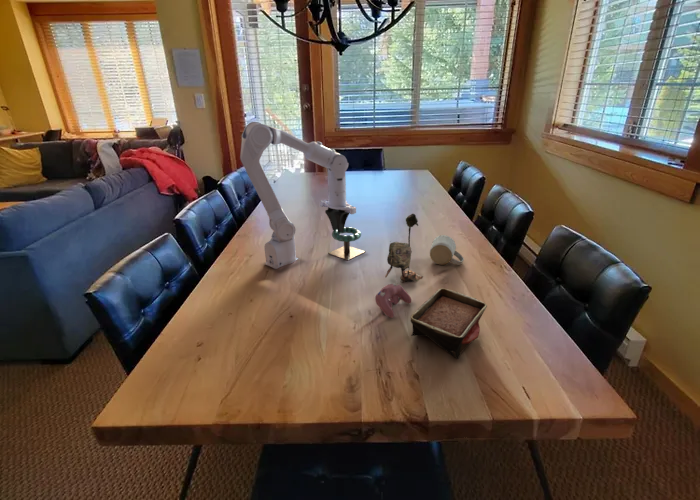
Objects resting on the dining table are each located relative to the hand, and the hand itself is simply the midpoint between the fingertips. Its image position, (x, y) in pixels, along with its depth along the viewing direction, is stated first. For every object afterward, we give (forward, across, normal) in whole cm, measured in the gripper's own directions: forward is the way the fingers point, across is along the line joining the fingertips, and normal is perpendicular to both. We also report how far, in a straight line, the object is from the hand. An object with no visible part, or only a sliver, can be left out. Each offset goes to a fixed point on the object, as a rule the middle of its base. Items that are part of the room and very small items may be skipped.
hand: (338, 230), depth 126 cm
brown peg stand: (+8, -4, 0) cm, 9 cm away
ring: (0, -4, 0) cm, 4 cm away
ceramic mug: (+8, -32, -17) cm, 37 cm away
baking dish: (+8, -51, +19) cm, 55 cm away
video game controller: (+8, -35, +17) cm, 40 cm away
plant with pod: (+8, -29, +3) cm, 30 cm away
